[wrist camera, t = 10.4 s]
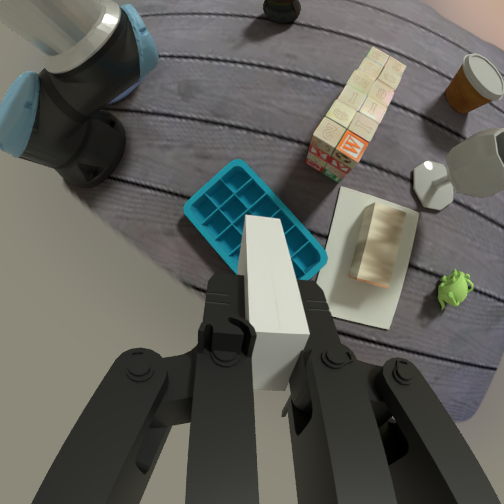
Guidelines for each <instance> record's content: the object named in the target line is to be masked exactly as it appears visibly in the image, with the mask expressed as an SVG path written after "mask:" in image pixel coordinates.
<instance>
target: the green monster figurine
mask: <svg viewBox="0 0 504 504" xmlns="http://www.w3.org/2000/svg"><path fill="white" fill-rule="evenodd" d="M466 276H468V278H467V277H466ZM469 278H470V275H469V274H464V273H463V272H460V271H457V270H456V269H454V270H453V271H452V274H451V275H449V276H448V277H446V276H443V277H442V278H441V280H442V282H441V283H440V285H439V288H438V300H439V302H440V304H441V306H442V308H441V310H443V309H444V307H445V304H444V301H445V302H446V303H448V304H451V305H453V306H455V307H456V306H458V305H459V303H461V302H462V301H463V300H464V299H465V298H466V296H467V294H468V292H471V291H472V289H473V283H472V282H471V281H470V280H469ZM467 282H468V283H470V285H471V286H472V287H471V288H470V289H469V290H468V283H467Z"/></svg>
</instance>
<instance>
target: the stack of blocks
mask: <svg viewBox="0 0 504 504" xmlns="http://www.w3.org/2000/svg"><path fill="white" fill-rule="evenodd" d="M405 68H406V66H405V65H403V64H402V63H400V62H399V61H397V60H396V59H394V58H392V57H391V56H388V55H387V54H385V53H383V52H382V51H380V50H378V49H376V48H374V47H372V48H371V50H370V51H369V53H368V54H367V56H366V57H365V59H364V60H363V62H362V63H361V65H360V67H359V68H358V70H355V71H354V72H353V74H352V75H351V77H350V79H349V80H348V82H347V84H346V86H345V88H344V89H343V91H342V93H341V94H340V96H339V97H338V99H337V100H335V102H334V103H333V105H332V106H331V108H330V110H329V111H328V113H327V114H326V116H325V117H324V118H323V120H322V121H321V123H320V124H319V126H318V127H317V129H316V130H315V132H314V134H313V136H312V140H311V143H310V146H309V150H308V155H307V157H306V161H305V163H306V164H308V165H309V166H311V167H312V168H314V169H316V170H317V171H319V172H321V173H323V174H324V175H326V176H328V177H329V178H331V179H332V180H334V181H335V182H337V183H339V182H340V181H341V180H342V179H343V178H344V176H345V175H346V174H348V173H349V172H350V171H351V170H352V168H353V167H354V166H355V165H356V164H357V163H358V162H359V160H360V159H361V157H362V155H363V153H364V151H365V149H366V148H367V146H368V144H369V142H370V141H371V139H372V137H373V135H374V133H375V131H376V129H377V127H378V125H379V124H380V123H381V121H382V118H383V117H384V114H385V112H386V110H387V107H388V106H389V104H390V102H391V99H392V97H393V95H394V91H395V90H396V88H397V86H398V84H399V82H400V80H401V76H402V74H403V72H404V70H405Z"/></svg>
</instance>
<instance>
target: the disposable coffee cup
mask: <svg viewBox="0 0 504 504" xmlns="http://www.w3.org/2000/svg"><path fill="white" fill-rule="evenodd" d="M503 93H504V81H503V79H502V77H501V75H500V73H499V72H498V70H497V69H496V67H495V66H494V65H493V64H492V63H491V62H490V61H489V60H488V59H486V58H485V57H483V56H481V55H479V54H475V53H474V54H471V55H470V54H469V55H466V56H465V57H464V59H463V64H462V66H461V67H460V69H459V71H458V72H457V74H456V75H455V77H454V78H453V80H452V81H451V83H450V85H449V86H448V88H447V89H446V92H445V94H446V98H447V100H448V102H449V104H450V105H451V106H452V107H453V108H454V109H455V110H456V111H458V112H459V113H463V114H465V113H467V112H470V111H472V110H474V109H476V108H478V107H480V106H482V105H484V104H486V103H489V102H491V101H493V100H494V101H496V100H500V99H501V98H502V96H503Z"/></svg>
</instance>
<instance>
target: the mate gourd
mask: <svg viewBox="0 0 504 504" xmlns="http://www.w3.org/2000/svg"><path fill="white" fill-rule="evenodd" d="M263 10H264V12H265V14H266V15H267V17H268V18H269V19H270V20H272V21H274V22H277V23H289V22H292V21H294V20H296V19H297V18H298V16H299V14H300V10H301V5H300V3H299V1H298V0H265V1H264V4H263Z"/></svg>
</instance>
